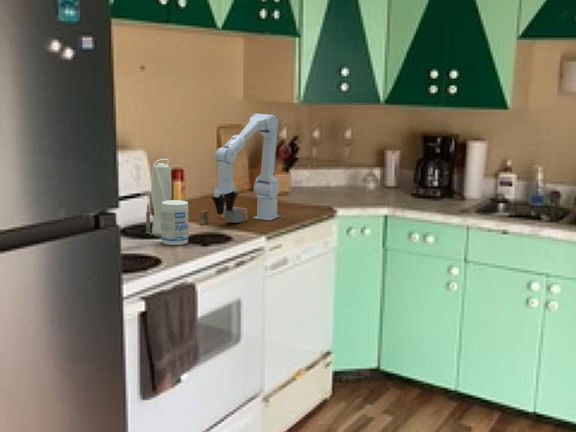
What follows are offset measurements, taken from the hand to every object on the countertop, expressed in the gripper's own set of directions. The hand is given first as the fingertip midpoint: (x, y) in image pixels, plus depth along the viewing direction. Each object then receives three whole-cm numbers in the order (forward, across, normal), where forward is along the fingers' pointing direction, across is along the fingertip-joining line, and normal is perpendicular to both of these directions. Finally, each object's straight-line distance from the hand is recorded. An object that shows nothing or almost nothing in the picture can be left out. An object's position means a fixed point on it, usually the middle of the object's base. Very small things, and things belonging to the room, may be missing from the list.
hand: (224, 212), depth 262 cm
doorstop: (+5, -8, 0) cm, 10 cm away
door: (+6, -14, -3) cm, 15 cm away
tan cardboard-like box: (+6, -8, -9) cm, 13 cm away
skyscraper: (+6, +22, -15) cm, 28 cm away
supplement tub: (+6, +32, -3) cm, 32 cm away
